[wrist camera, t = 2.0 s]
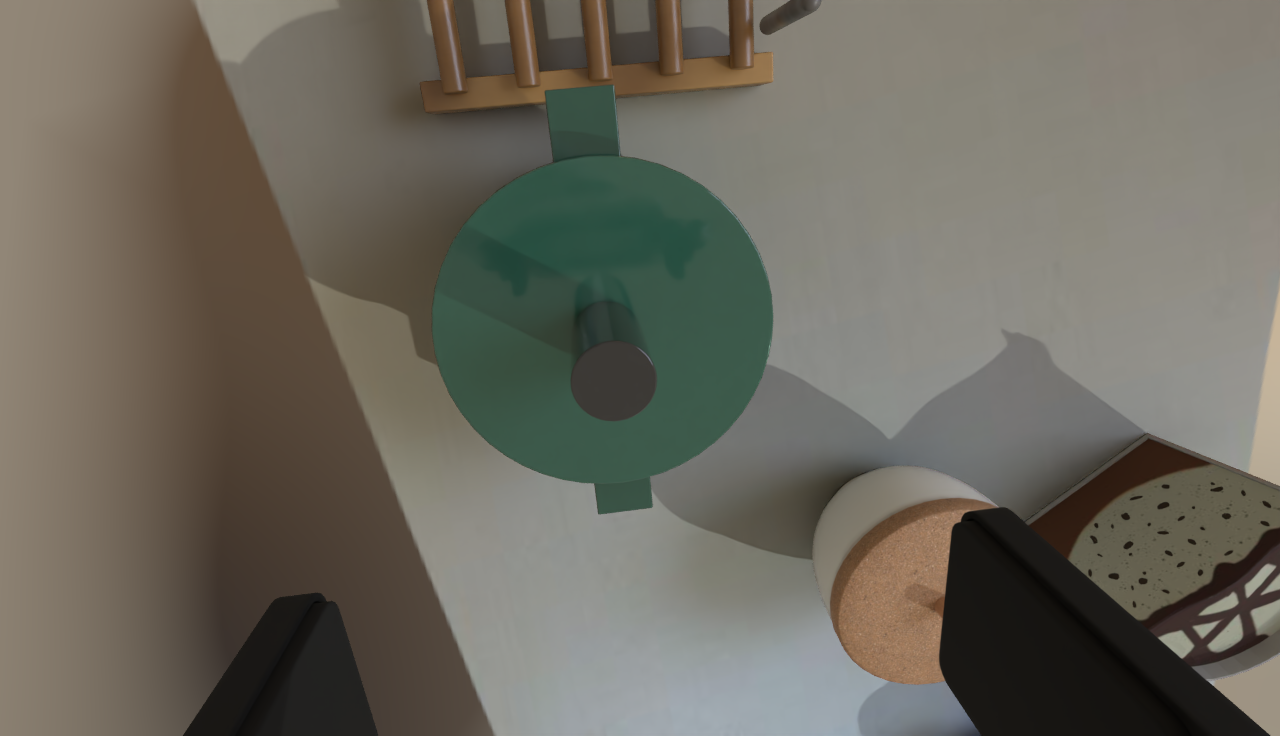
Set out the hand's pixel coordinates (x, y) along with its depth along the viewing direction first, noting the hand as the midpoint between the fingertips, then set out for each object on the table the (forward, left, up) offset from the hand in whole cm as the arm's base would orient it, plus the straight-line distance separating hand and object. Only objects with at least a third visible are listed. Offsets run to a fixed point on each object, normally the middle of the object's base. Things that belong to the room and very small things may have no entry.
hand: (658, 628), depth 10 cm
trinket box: (+15, -16, -24) cm, 32 cm away
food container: (+30, -18, -24) cm, 42 cm away
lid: (0, 0, -15) cm, 15 cm away
